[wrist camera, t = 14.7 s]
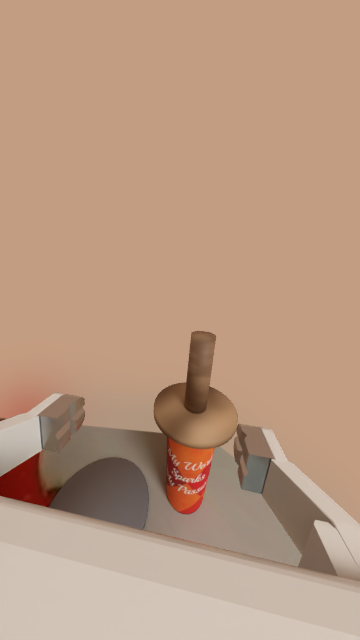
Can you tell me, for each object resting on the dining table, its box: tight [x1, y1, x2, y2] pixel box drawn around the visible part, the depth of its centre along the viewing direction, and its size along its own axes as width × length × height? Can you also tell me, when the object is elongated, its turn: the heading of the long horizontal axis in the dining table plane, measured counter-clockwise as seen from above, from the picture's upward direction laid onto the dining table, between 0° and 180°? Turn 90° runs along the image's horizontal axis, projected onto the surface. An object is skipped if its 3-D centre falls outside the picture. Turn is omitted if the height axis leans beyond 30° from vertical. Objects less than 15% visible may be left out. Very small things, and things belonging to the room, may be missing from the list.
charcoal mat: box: [49, 458, 149, 530], centre depth 23 cm, size 13×13×1 cm
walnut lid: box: [154, 331, 238, 449], centre depth 22 cm, size 11×11×11 cm
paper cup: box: [167, 437, 215, 514], centre depth 24 cm, size 8×8×14 cm
